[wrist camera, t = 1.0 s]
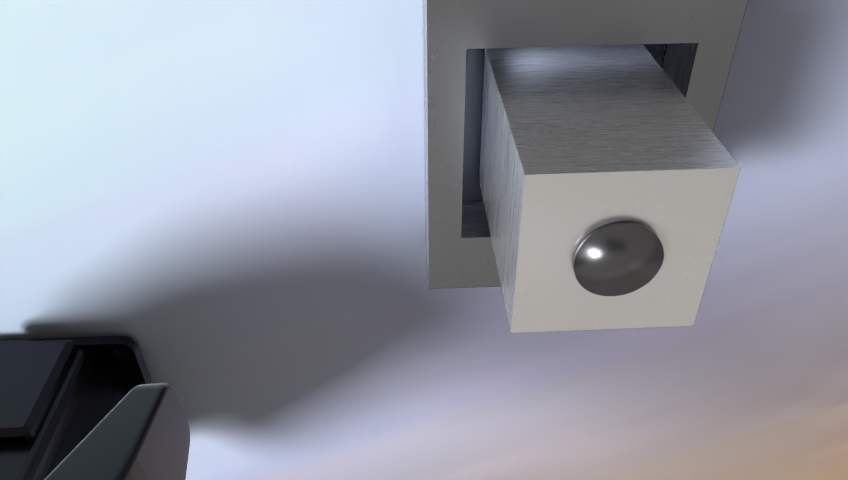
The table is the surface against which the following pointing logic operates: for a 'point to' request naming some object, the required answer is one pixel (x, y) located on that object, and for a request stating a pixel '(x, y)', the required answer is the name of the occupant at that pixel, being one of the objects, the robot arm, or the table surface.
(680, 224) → the grey rectangular block
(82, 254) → the table surface
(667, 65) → the rail
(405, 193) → the table surface
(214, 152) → the table surface
